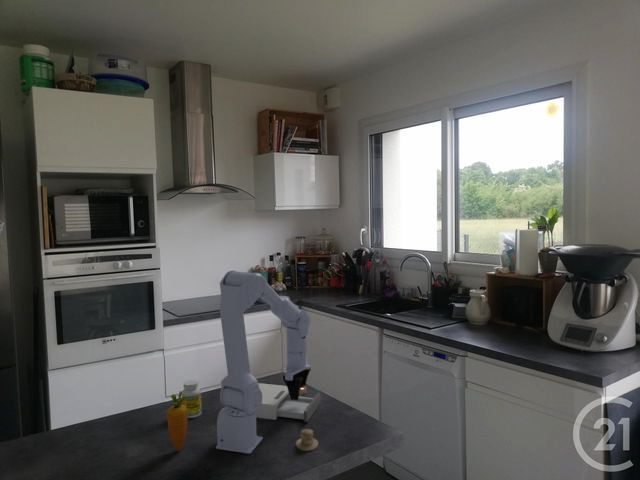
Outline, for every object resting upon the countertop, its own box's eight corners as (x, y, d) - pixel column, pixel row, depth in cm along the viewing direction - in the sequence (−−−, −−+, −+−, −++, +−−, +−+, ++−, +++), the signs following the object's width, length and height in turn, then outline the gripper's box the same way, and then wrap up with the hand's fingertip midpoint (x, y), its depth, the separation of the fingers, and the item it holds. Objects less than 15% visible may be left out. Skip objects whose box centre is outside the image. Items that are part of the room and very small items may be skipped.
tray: (263, 416, 135) (263, 406, 135) (280, 398, 148) (280, 389, 148) (307, 422, 131) (307, 411, 131) (320, 402, 144) (320, 393, 144)
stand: (292, 449, 118) (292, 435, 117) (300, 438, 123) (300, 425, 123) (314, 452, 116) (314, 438, 116) (320, 441, 121) (320, 428, 121)
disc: (286, 395, 137) (286, 389, 137) (292, 388, 142) (292, 383, 142) (303, 397, 136) (303, 391, 136) (308, 390, 140) (308, 384, 140)
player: (230, 414, 138) (230, 399, 137) (251, 395, 151) (251, 382, 151) (275, 419, 134) (275, 404, 133) (292, 400, 147) (292, 386, 147)
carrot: (181, 443, 121) (179, 386, 120) (193, 449, 118) (191, 391, 117) (164, 451, 117) (161, 393, 116) (175, 458, 114) (173, 398, 113)
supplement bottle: (199, 408, 142) (198, 377, 141) (203, 415, 137) (202, 383, 136) (180, 412, 139) (179, 381, 138) (184, 420, 134) (183, 387, 134)
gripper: (301, 359, 130) (302, 407, 131) (317, 344, 144) (317, 387, 145) (277, 357, 132) (278, 404, 133) (295, 342, 146) (296, 385, 147)
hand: (297, 395), depth 139 cm, fingers closed on disc, 5 cm apart
